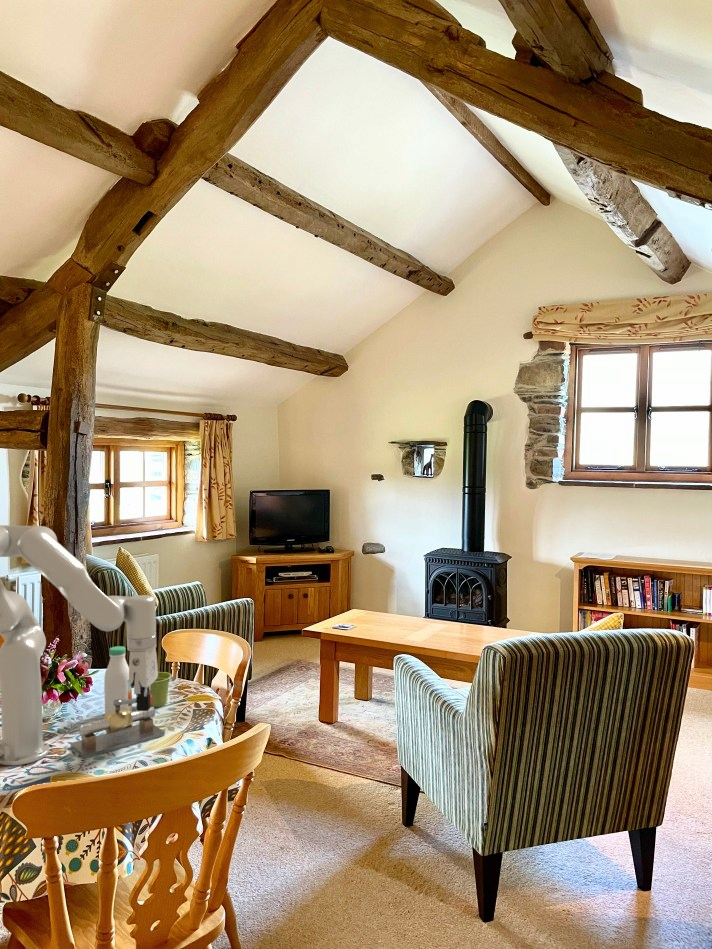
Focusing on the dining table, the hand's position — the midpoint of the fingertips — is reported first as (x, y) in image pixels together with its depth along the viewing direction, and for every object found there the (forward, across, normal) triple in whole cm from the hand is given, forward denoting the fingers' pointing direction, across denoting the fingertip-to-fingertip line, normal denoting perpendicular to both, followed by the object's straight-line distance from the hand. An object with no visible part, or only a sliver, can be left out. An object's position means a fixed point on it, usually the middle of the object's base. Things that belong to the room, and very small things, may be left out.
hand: (143, 709), depth 189 cm
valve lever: (-1, +2, +4) cm, 4 cm away
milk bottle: (+9, +20, +14) cm, 26 cm away
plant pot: (+9, +28, +6) cm, 30 cm away
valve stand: (+9, +1, +7) cm, 11 cm away
